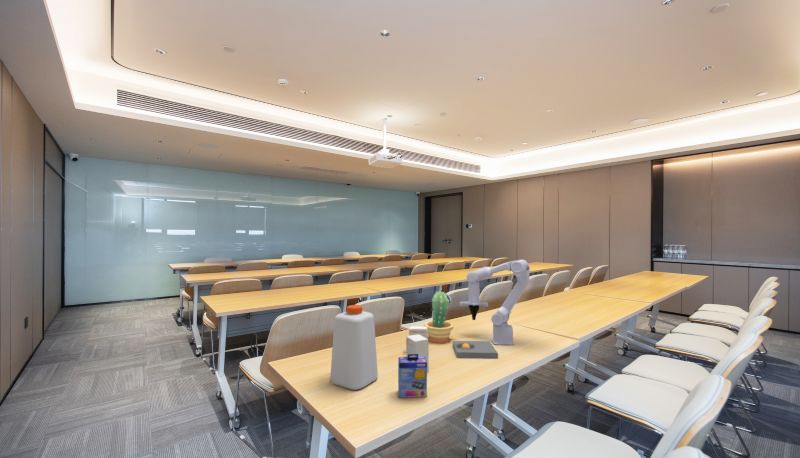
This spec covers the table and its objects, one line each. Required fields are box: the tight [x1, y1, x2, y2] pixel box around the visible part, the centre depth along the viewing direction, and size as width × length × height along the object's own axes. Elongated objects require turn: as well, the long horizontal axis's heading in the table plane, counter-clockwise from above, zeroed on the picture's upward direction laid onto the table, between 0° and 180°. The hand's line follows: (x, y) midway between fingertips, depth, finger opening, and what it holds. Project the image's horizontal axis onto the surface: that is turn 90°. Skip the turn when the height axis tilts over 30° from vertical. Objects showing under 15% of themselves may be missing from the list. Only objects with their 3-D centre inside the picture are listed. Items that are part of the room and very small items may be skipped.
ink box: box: [408, 325, 429, 340], centre depth 156 cm, size 9×5×12 cm, turn 84°
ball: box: [462, 343, 470, 348], centre depth 157 cm, size 4×4×4 cm
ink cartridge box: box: [397, 354, 428, 399], centre depth 116 cm, size 10×6×14 cm, turn 95°
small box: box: [405, 334, 429, 373], centre depth 137 cm, size 8×6×13 cm
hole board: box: [452, 340, 499, 359], centre depth 157 cm, size 18×16×2 cm
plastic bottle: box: [329, 304, 379, 391], centre depth 127 cm, size 15×15×28 cm
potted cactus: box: [423, 290, 454, 344], centre depth 175 cm, size 15×15×25 cm
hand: (473, 319), depth 179 cm, fingers closed
